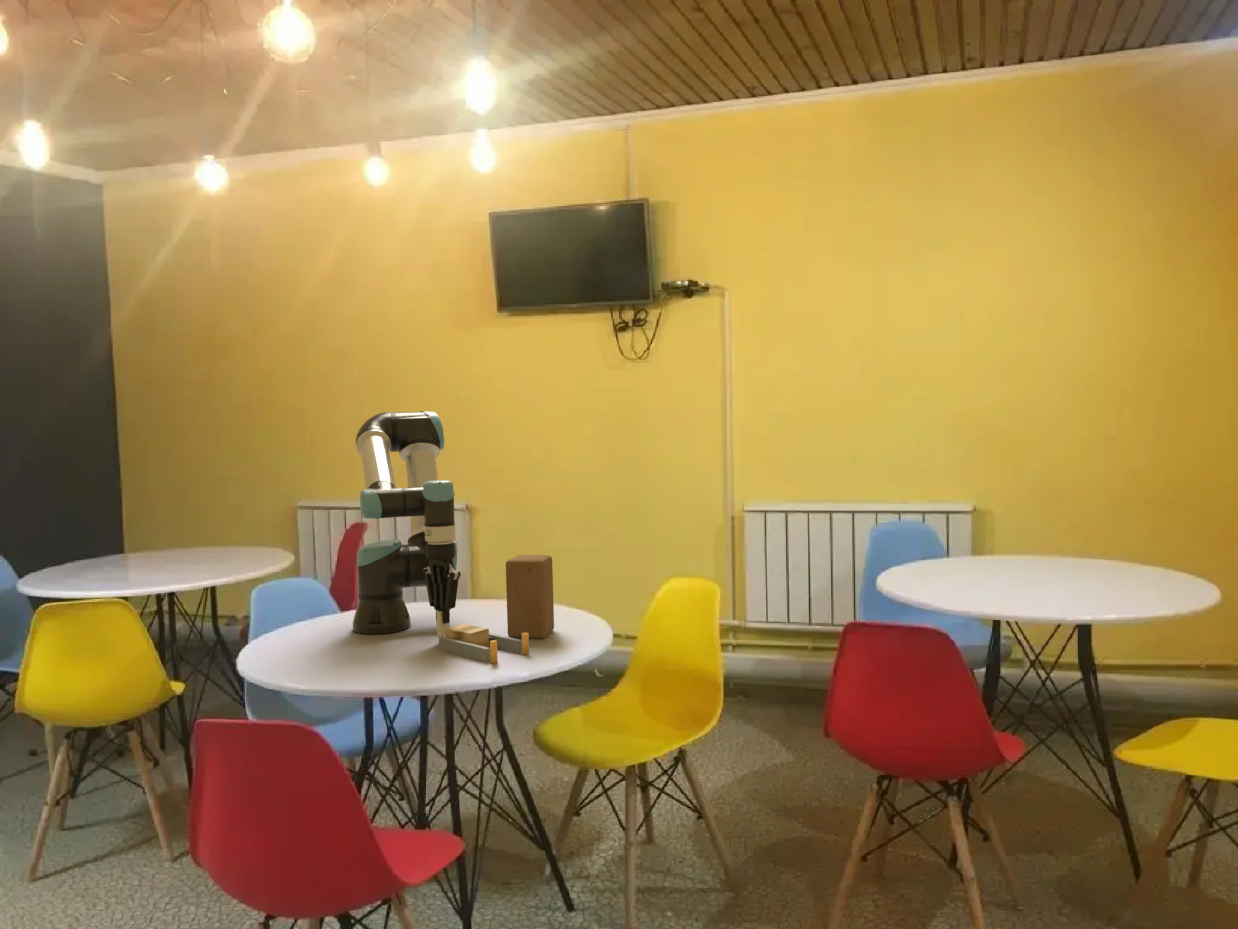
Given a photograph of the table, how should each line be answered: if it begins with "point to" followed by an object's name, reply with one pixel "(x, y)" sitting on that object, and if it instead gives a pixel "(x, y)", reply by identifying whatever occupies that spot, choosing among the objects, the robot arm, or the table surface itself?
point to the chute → (485, 652)
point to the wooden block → (530, 596)
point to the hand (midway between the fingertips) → (443, 635)
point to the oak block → (469, 634)
